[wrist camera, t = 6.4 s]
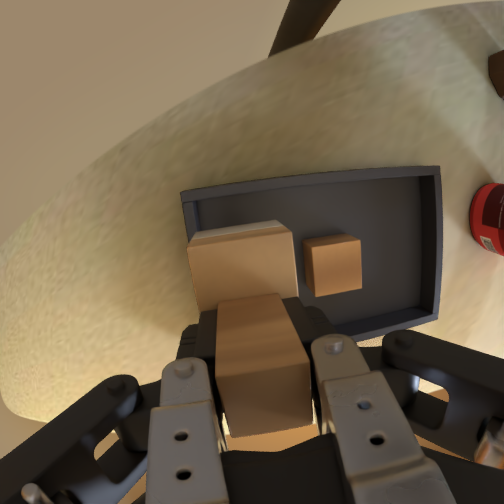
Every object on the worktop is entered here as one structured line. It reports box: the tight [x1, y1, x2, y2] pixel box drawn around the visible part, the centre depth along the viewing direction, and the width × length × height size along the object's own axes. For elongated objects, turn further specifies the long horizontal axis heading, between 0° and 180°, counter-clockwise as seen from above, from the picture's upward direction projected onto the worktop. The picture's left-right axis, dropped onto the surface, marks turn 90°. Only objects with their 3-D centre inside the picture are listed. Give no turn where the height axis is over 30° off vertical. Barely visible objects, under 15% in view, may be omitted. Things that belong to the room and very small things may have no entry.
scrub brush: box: [187, 220, 313, 438], centre depth 12 cm, size 7×4×9 cm, turn 8°
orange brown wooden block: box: [302, 233, 362, 297], centre depth 25 cm, size 4×4×3 cm
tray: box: [180, 166, 443, 342], centre depth 25 cm, size 15×22×3 cm
